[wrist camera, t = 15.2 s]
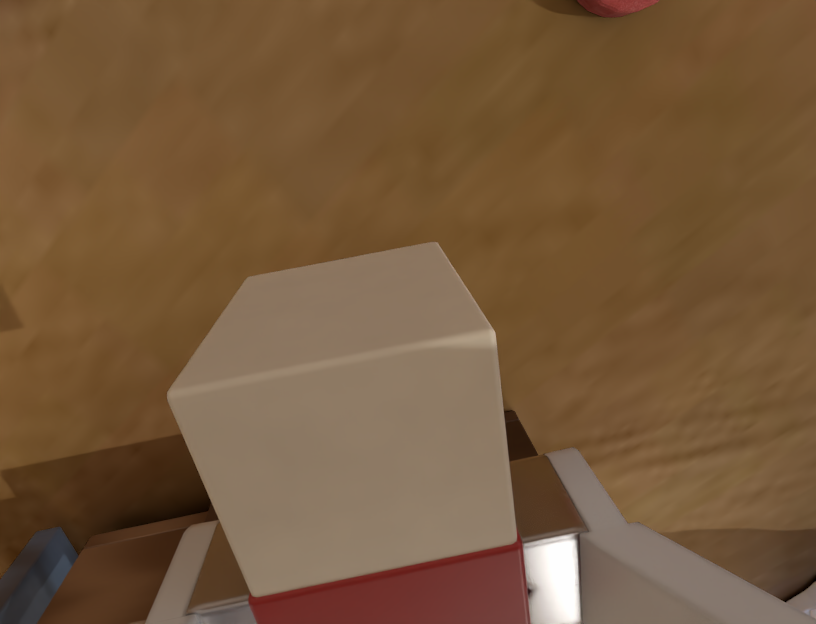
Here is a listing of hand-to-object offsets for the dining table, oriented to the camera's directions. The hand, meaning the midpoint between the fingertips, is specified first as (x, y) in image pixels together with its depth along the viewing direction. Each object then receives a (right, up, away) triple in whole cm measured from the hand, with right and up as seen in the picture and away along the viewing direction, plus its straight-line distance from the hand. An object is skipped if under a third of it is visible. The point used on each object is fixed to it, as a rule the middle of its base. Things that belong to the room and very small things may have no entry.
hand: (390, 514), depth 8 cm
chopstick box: (0, +1, +1) cm, 2 cm away
